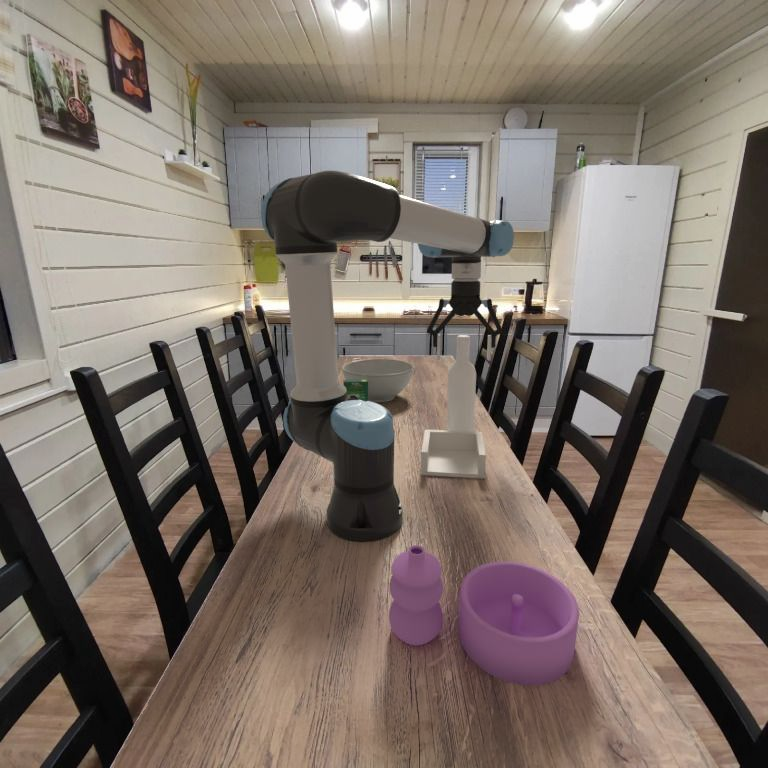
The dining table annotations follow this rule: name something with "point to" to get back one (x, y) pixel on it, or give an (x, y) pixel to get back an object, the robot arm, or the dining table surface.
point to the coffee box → (356, 389)
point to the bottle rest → (453, 454)
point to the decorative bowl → (380, 376)
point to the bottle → (461, 389)
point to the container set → (490, 615)
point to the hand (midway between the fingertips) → (463, 359)
